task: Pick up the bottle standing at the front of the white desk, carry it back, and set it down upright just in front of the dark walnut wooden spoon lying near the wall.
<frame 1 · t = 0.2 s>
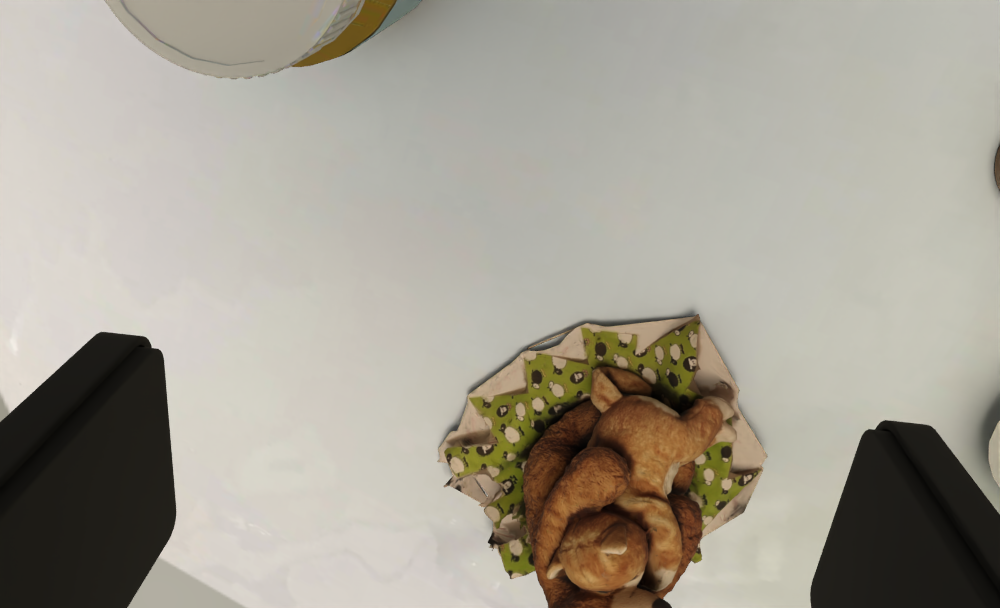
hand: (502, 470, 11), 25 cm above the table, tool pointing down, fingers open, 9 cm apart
bear figurine: (606, 444, 41), on the table
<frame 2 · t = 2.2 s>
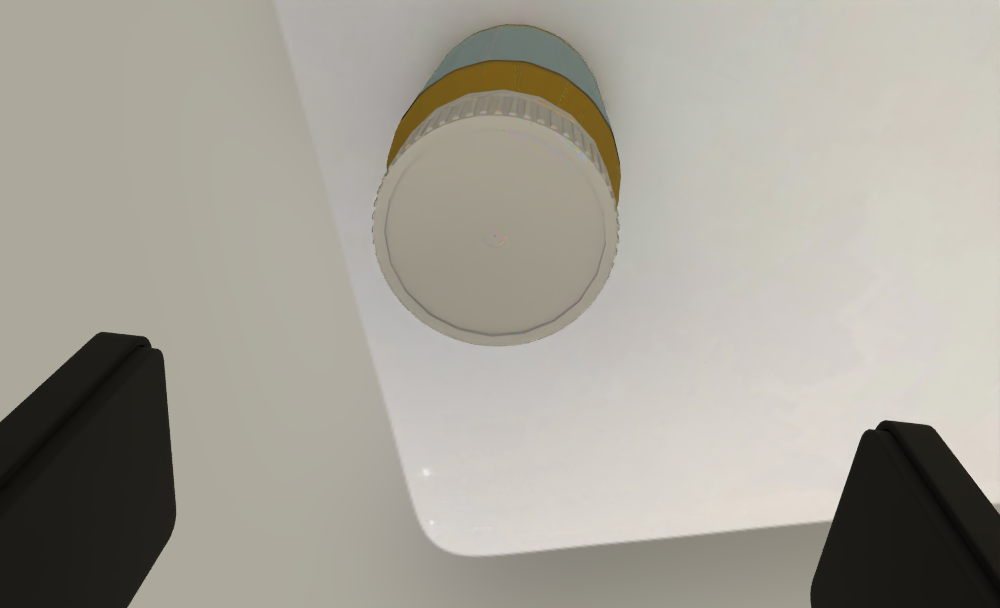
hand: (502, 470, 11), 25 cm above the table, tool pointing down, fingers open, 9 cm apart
bottle: (514, 110, 34), on the table
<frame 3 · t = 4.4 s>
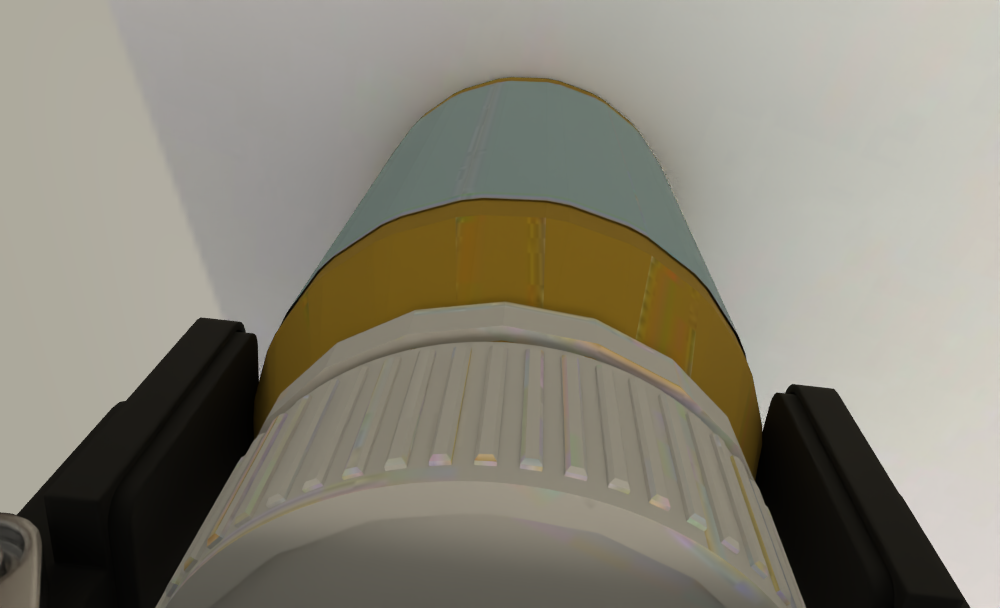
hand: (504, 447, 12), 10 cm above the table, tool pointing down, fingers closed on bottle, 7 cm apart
bottle: (523, 211, 21), on the table, touching gripper
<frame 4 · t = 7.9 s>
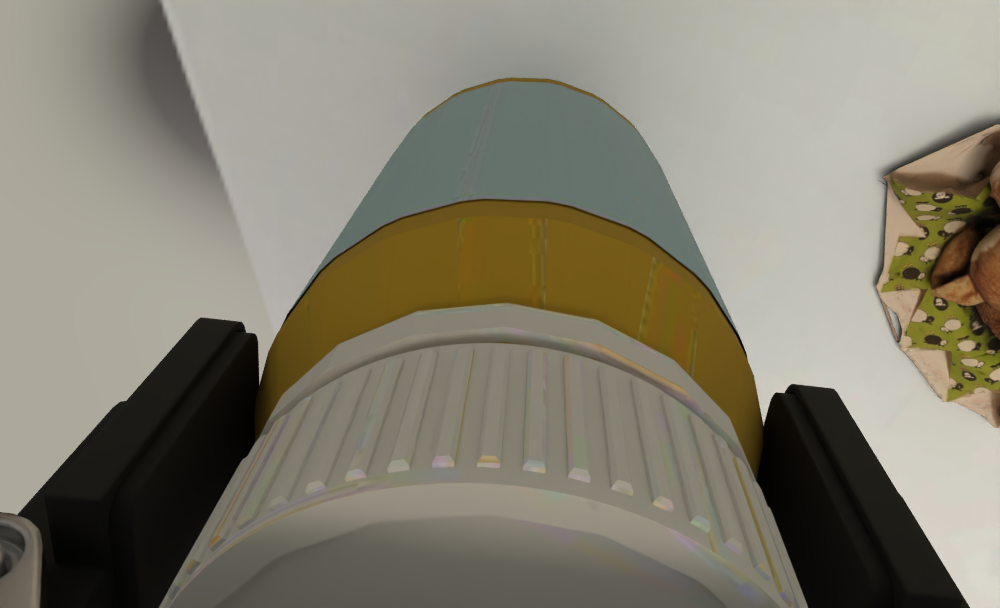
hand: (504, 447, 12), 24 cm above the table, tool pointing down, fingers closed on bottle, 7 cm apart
bottle: (524, 212, 21), point 13 cm above the table, touching gripper
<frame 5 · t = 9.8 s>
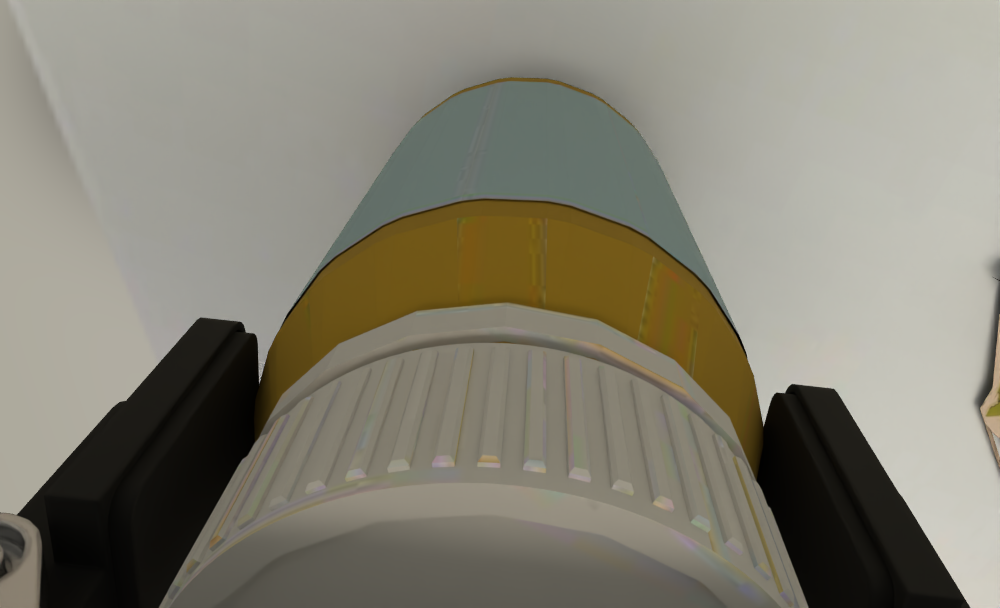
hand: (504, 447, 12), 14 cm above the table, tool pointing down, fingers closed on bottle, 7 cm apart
bottle: (523, 212, 21), point 4 cm above the table, touching gripper
when the fingers open (10 cm above the table, at t = 11.4 s): bottle stays where it is, on the table.
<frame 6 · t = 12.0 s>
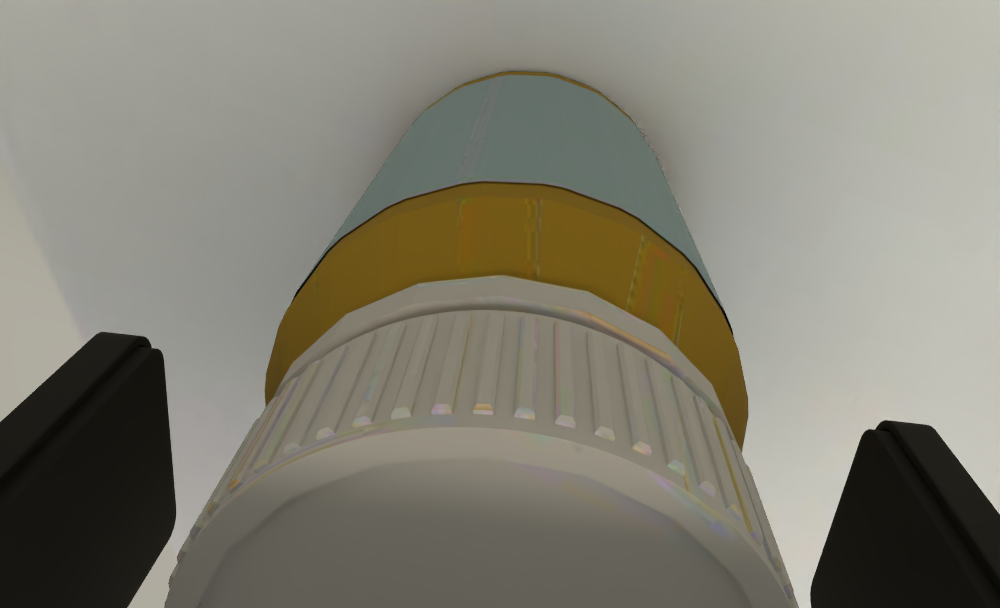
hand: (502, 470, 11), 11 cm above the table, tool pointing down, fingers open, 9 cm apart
bottle: (524, 202, 22), on the table
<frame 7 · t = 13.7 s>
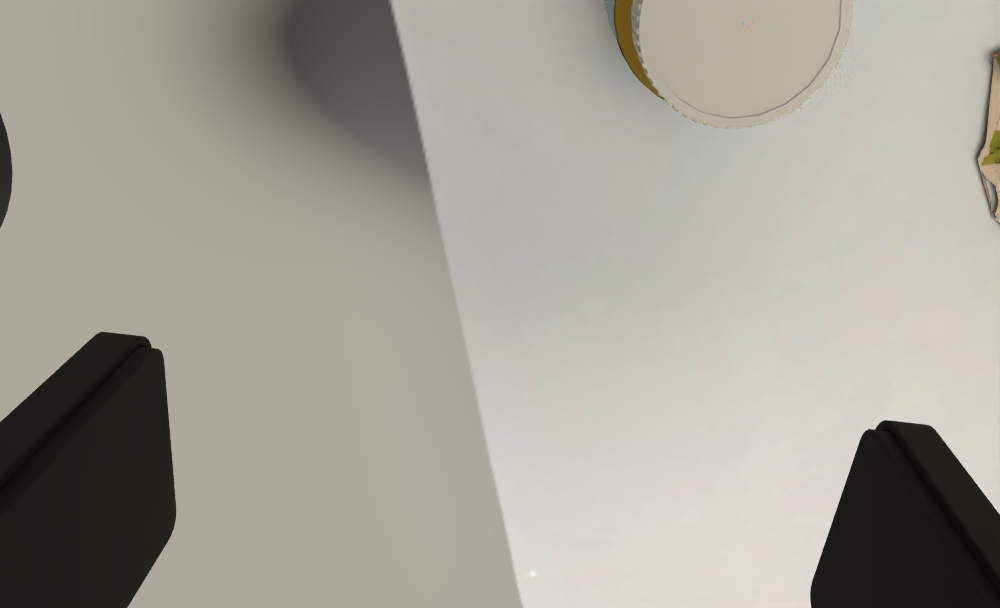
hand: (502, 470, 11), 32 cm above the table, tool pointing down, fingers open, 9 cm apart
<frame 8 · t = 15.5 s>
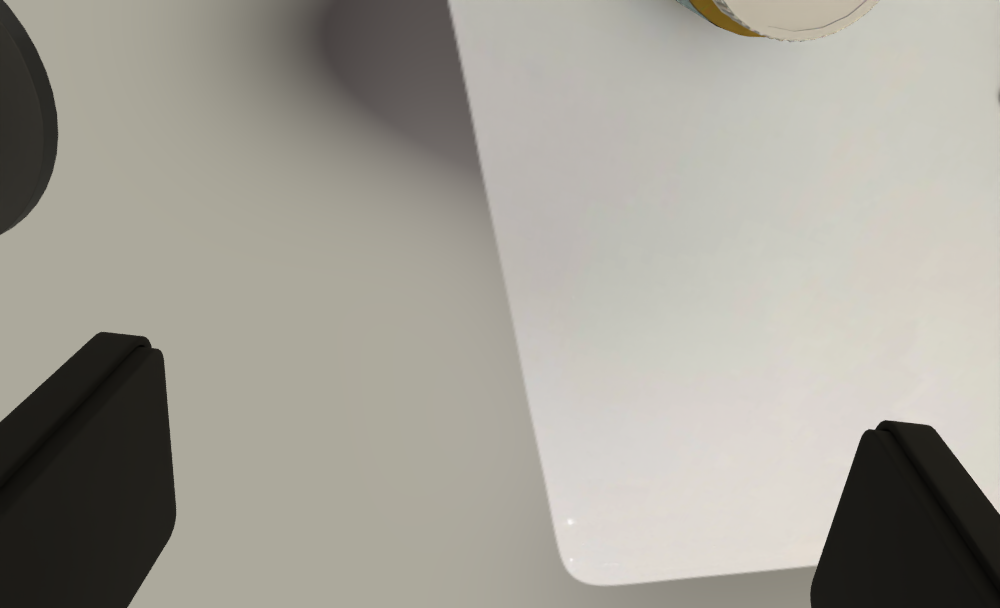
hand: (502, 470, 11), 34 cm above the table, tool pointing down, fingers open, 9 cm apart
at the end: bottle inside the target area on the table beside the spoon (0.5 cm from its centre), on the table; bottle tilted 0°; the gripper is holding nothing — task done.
